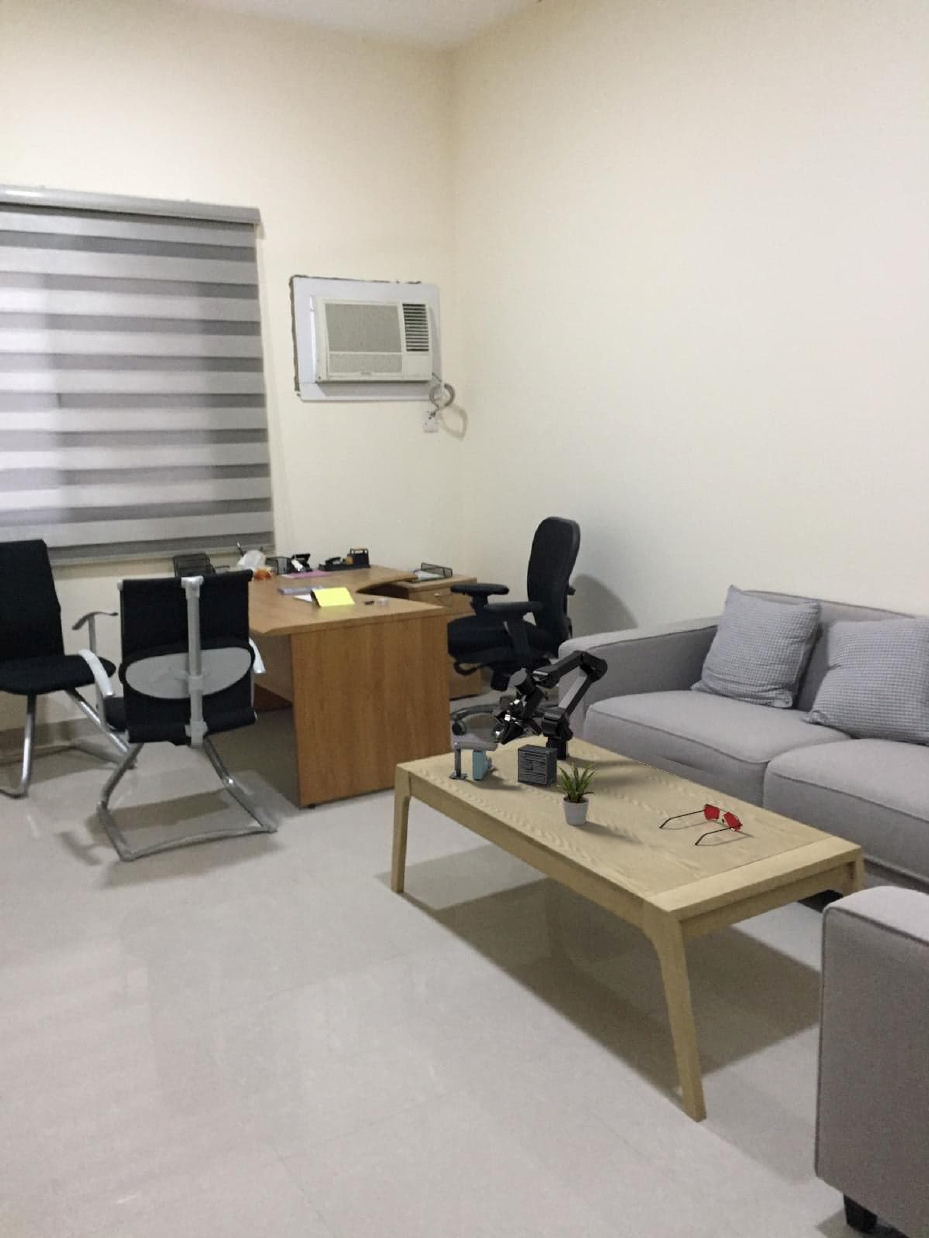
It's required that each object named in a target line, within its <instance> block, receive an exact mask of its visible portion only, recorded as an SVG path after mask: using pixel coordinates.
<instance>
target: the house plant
mask: <svg viewBox="0 0 929 1238" xmlns="http://www.w3.org/2000/svg"><path fill="white" fill-rule="evenodd" d="M596 764H597V762H595V763H591V764H589V765H588V766H587V767H586V768H585V769H584V771H583V772H582V775H581V778H580V775H579V768H578V767H577V765H576V764H575V762H574V761H571V764H568V766H569V767H570V768H571V770H572V773H573V776H574V779H573V777H571V778H570V776H569V775H568V773H567V772H566V771H565V770H564V769H563V768H562V767H561V766H559V765H558V764H557V765H556V766H557V769H559V770H560V775H559V774H558V773H557V776H559V777H560V779H561V782H560V784H562V785H564V786H562V785H560V784H559V785H558V784H557V785H556V784H555V786H556V787H558V788H560V789H561V790H563V791H565V792H567V794H566V793H565V792H563V791H561V790H558V791H557V792H555V793H558V794H559V793H560V794H564V795H565V796H563V797H562V806H563V811H564V812H563V813H564V819H565V823H566V824H567V825H568V824H569V825H571V826H572V825H573V826H582V825H584V824H585V823H586V820H587V815H588V808H589V803H590V799H589V797H587V796H585V795H587V794H588V795H589V794H590V795H591V794H592V795H595V796H597V794H596V793H595V792H593V790H595V791H598V789H597V788H596V787H590V788H588V786H589V785H590V783H591V782H592V781H594V780H595V779H594V778H593V777H594V776H595V775H598V774H599V773H600V774H601V773H604V771H598V769H597V770H593V771H592V772H591V773H589V771H591V768H592V767H593V766H594V765H596ZM588 773H589V774H588ZM554 774H555V773H554ZM591 778H593V779H591ZM590 790H592V791H590Z"/></svg>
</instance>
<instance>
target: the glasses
mask: <svg viewBox="0 0 929 1238" xmlns="http://www.w3.org/2000/svg"><path fill="white" fill-rule="evenodd" d="M721 812H725V813H724V814H723V815H722V816H723V818H721V822H722V824H725V823H726V824H727V825H728V827H725V828H721V829H718V830H714V831H711V832H710V831H709V832H706V833H704V834H702V835H701V836H700V837H699V838H698V839H697V841H696V842H695V843H694V844H695V845H696V846H697V845H698V844H699V843H700V842H701V841H702V839H703V838H704V837H706V836H707V835H711V834H714V833H719V832H723V831H727V830H731V828H733V829H735V830H736V831H739V830H741V827H743V826H744V824H743V823H742V822H741V821H740V818H739V817H738V816H737V815H735V814H733V813H732V812H731V811H726V810H724V809H722V808H719V807H718V806H715V805H711V804H709V803H705V804H704V806H703V809H701V810H698V811H693V812H689V813H684V814H681V815H677V816H672V817H669V818H667V819H666V820H665V821H664V822H663V823H662V824H661V825H660V826H659V827H658V829H659V828H661V829H662V828H664V826H665V825H667V823H668V822H670V821H671V820H673V819H676V818H682V817H686V816H691V815H695V814H699V813H703V815H704V818H705V819H706V818H708V819H707V820H715V821H718V820H719V819H720V813H721ZM695 845H694V846H695Z"/></svg>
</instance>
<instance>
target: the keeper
mask: <svg viewBox="0 0 929 1238" xmlns="http://www.w3.org/2000/svg"><path fill="white" fill-rule="evenodd" d="M453 746H454V772H452V773H451V774H450V775H449V776H448V779H449V778H456V779H455V780H461V779H463V780H464V779H465V778H466V777H467V776H468V773H466V772H462V750H470V751H473V750H481V751H486V752H495V751H496V750H498V748H499V743H491V742H489V743H488V742H477V741H476V742H475V741H463V740H459V741H458V742H454V745H453ZM466 775H467V776H466ZM464 777H465V778H464Z"/></svg>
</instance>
